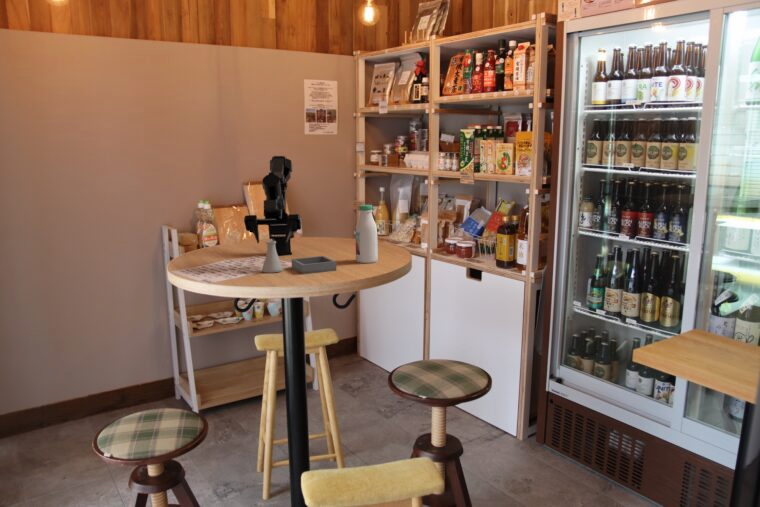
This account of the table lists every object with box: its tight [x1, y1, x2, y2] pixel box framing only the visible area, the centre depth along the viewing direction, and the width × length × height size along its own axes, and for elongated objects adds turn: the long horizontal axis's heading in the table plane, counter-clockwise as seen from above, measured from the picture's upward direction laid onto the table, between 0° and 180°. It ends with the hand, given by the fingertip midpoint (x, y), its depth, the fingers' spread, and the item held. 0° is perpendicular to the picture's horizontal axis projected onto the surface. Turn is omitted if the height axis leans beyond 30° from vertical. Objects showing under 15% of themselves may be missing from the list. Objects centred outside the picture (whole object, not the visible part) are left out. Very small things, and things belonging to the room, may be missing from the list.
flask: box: [261, 240, 284, 274], centre depth 202 cm, size 7×7×10 cm
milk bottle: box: [355, 204, 379, 264], centre depth 215 cm, size 8×8×20 cm
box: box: [290, 255, 337, 275], centre depth 204 cm, size 12×12×3 cm
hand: (271, 242), depth 203 cm, fingers open, 9 cm apart
